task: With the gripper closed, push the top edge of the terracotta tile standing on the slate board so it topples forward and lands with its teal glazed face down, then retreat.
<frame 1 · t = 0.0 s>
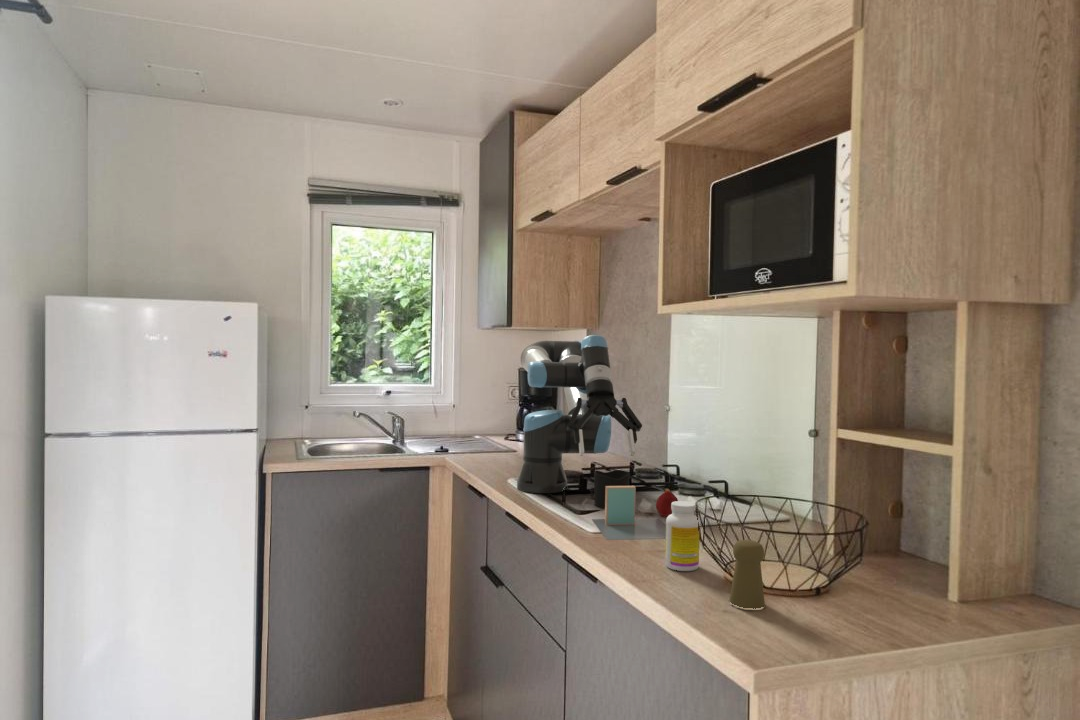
hand: (607, 453, 183), 15 cm above the counter, tool tilted 35°, fingers open, 13 cm apart
tile: (619, 523, 168), point 1 cm above the counter, touching slate board
pen holder: (610, 510, 186), on the counter
slate board: (634, 533, 164), on the counter
supplement bottle: (681, 567, 141), on the counter
cork: (746, 605, 121), on the counter
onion: (667, 521, 176), on the counter
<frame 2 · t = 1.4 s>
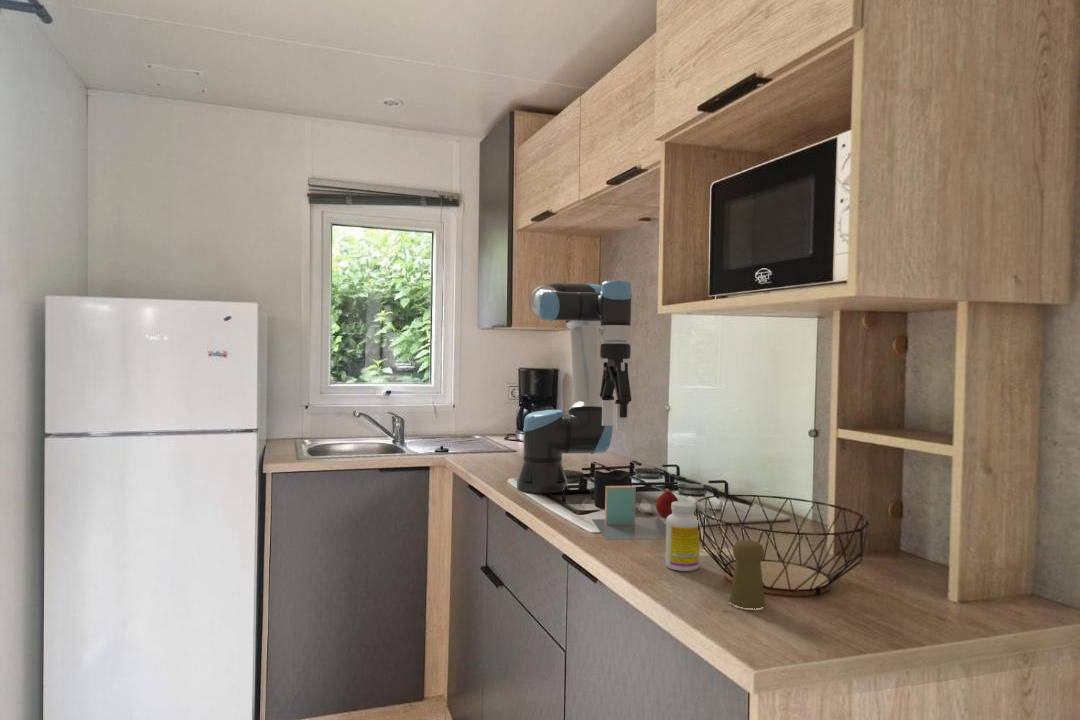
hand: (614, 428, 175), 23 cm above the counter, tool pointing down, fingers open, 13 cm apart
nothing on the counter moved.
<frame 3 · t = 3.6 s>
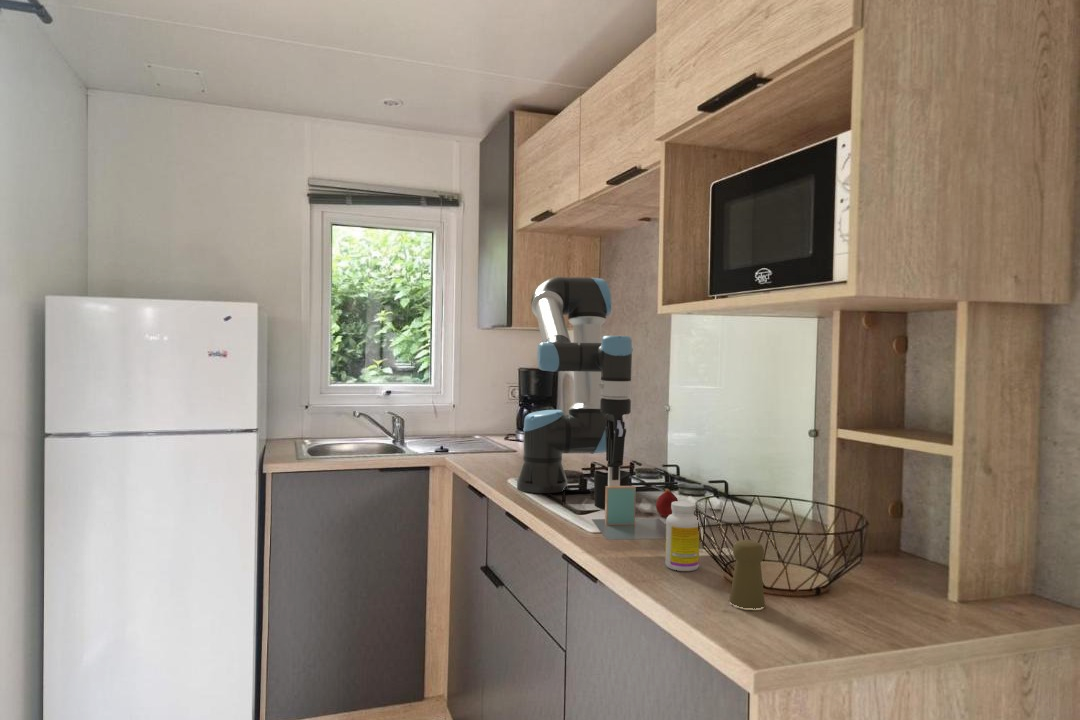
hand: (613, 492, 174), 7 cm above the counter, tool pointing down, fingers closed
nothing on the counter moved.
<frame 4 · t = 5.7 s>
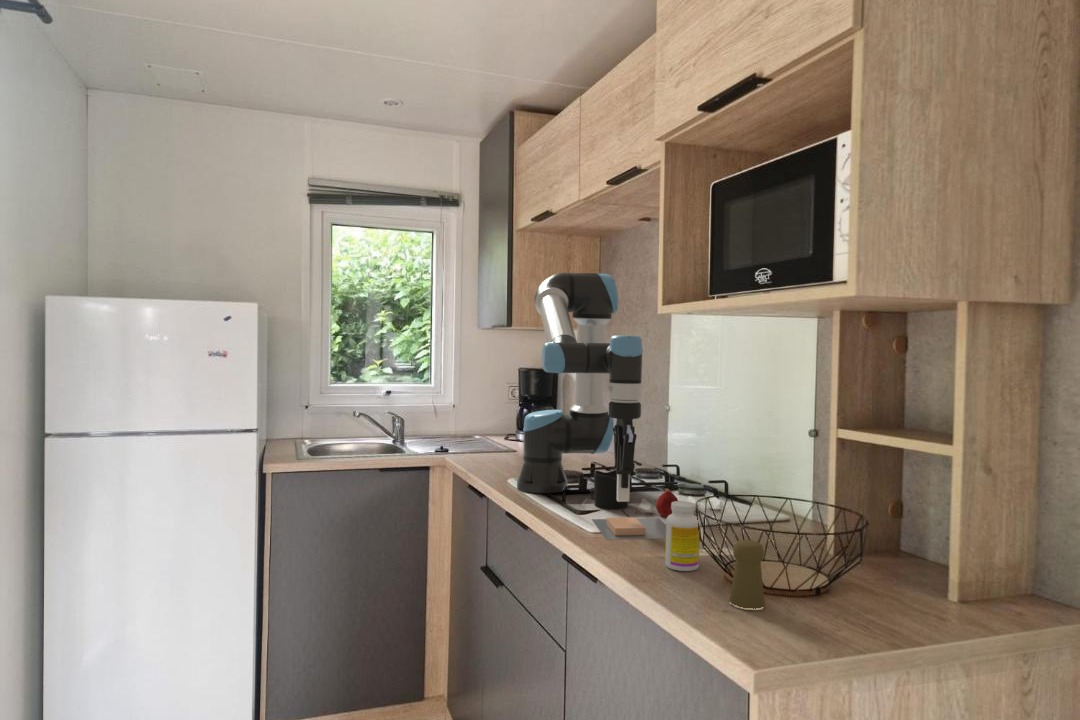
hand: (622, 500, 165), 7 cm above the counter, tool pointing down, fingers closed
tile: (620, 521, 167), point 2 cm above the counter, tilted 90°, touching slate board
everything else where it was.
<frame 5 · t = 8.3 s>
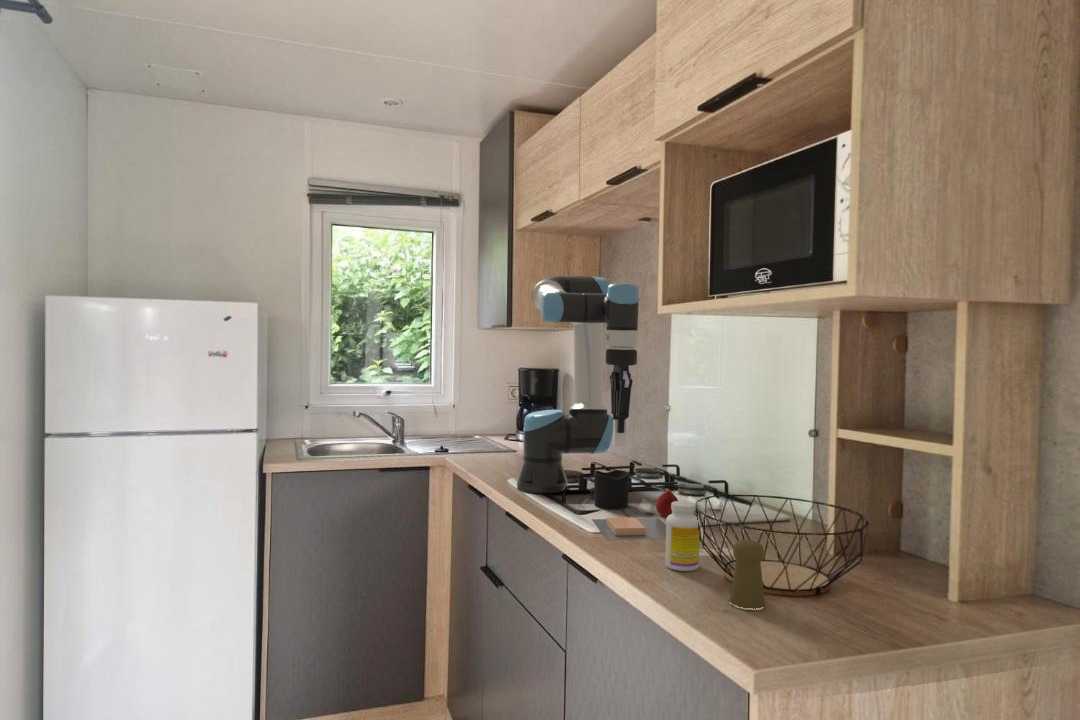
hand: (619, 445, 169), 20 cm above the counter, tool pointing down, fingers closed
nothing on the counter moved.
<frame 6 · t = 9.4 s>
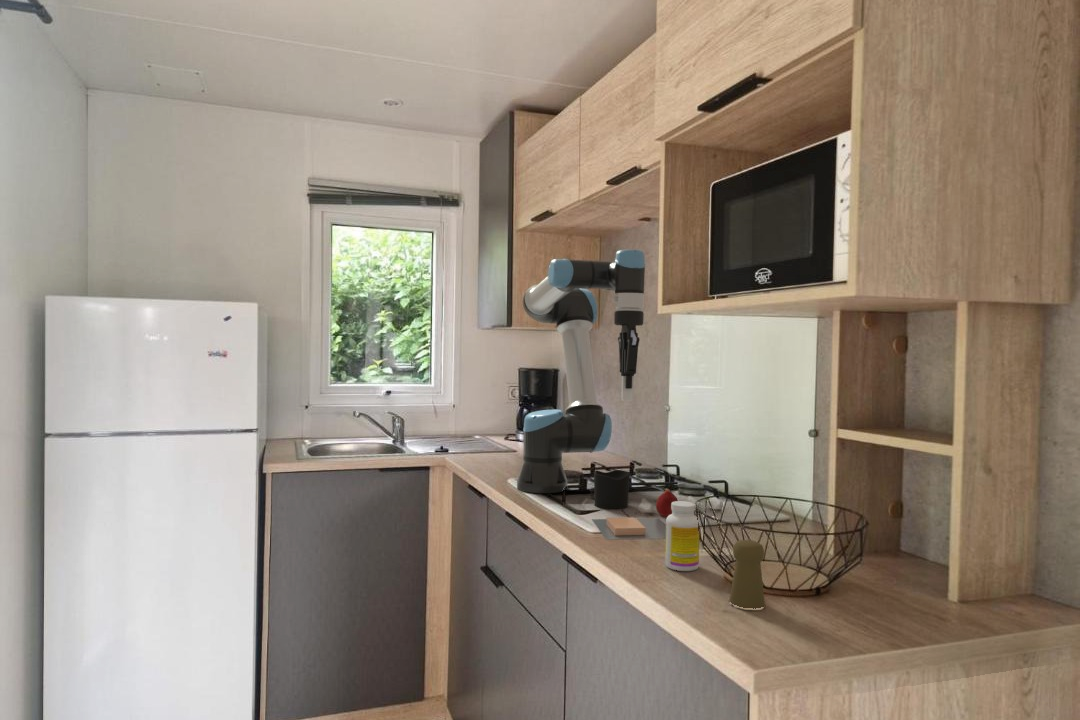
hand: (627, 400, 182), 29 cm above the counter, tool pointing down, fingers closed
nothing on the counter moved.
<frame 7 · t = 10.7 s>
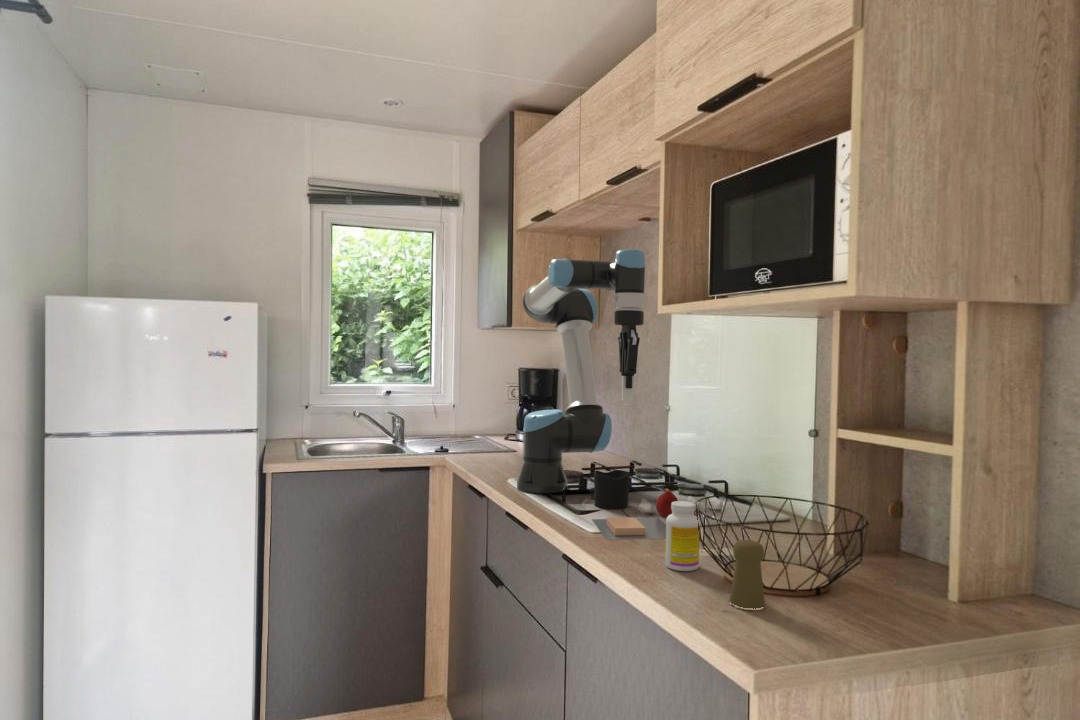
hand: (627, 400, 182), 29 cm above the counter, tool pointing down, fingers closed
nothing on the counter moved.
at the end: tile tilted 90°; tile inside the target area on the slate board (4.7 cm from its centre), point 2.1 cm above the slate board's base; the gripper is holding nothing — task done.
